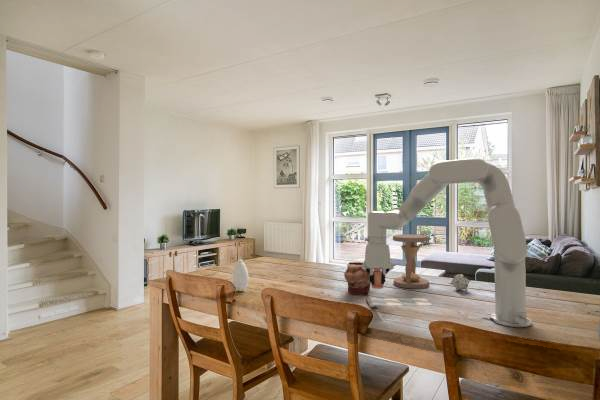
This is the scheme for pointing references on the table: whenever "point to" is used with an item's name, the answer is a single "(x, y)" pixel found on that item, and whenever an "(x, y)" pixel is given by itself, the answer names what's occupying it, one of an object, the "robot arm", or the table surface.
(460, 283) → the game die
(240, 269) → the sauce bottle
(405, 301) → the board
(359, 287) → the decorative planter
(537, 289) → the table surface
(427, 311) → the table surface
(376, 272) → the pawn
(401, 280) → the wooden pedestal stand
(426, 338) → the table surface
